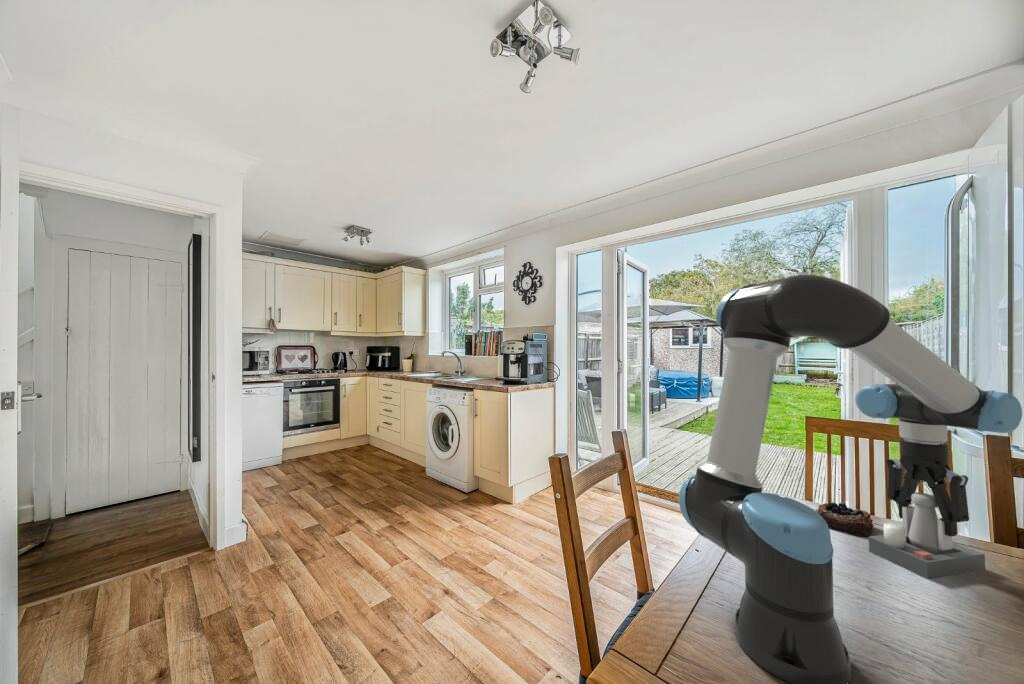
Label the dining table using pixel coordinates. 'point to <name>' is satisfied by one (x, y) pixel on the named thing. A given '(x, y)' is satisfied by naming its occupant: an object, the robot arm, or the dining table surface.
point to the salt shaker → (924, 524)
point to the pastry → (846, 519)
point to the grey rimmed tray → (924, 555)
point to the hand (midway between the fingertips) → (926, 541)
